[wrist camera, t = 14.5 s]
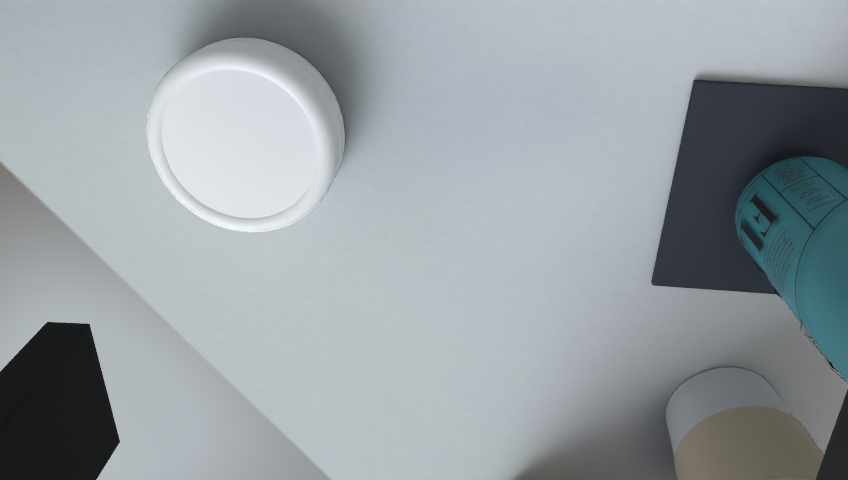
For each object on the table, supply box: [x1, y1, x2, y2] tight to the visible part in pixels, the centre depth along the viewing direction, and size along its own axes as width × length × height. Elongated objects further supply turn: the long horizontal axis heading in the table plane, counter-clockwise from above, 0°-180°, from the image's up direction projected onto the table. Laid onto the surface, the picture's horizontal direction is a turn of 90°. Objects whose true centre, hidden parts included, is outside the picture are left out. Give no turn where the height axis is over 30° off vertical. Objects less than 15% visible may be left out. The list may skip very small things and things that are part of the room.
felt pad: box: [652, 80, 848, 294], centre depth 39 cm, size 12×12×1 cm
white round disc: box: [147, 38, 345, 232], centre depth 38 cm, size 10×10×4 cm
